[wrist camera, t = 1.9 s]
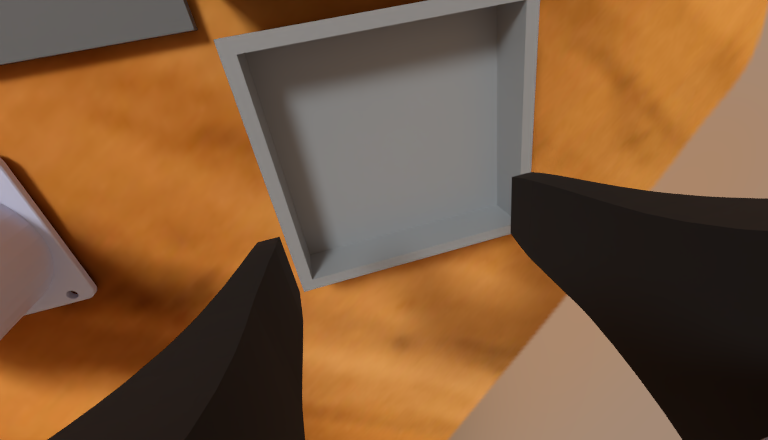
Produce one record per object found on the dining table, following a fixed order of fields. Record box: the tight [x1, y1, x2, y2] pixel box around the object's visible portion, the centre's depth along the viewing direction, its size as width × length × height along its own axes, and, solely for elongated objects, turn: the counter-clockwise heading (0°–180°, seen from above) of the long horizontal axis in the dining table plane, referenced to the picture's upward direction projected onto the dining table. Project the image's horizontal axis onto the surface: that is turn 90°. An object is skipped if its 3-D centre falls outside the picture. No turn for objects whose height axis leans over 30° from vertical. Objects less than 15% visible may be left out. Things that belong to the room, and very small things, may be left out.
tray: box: [214, 0, 540, 292], centre depth 18 cm, size 13×12×3 cm
